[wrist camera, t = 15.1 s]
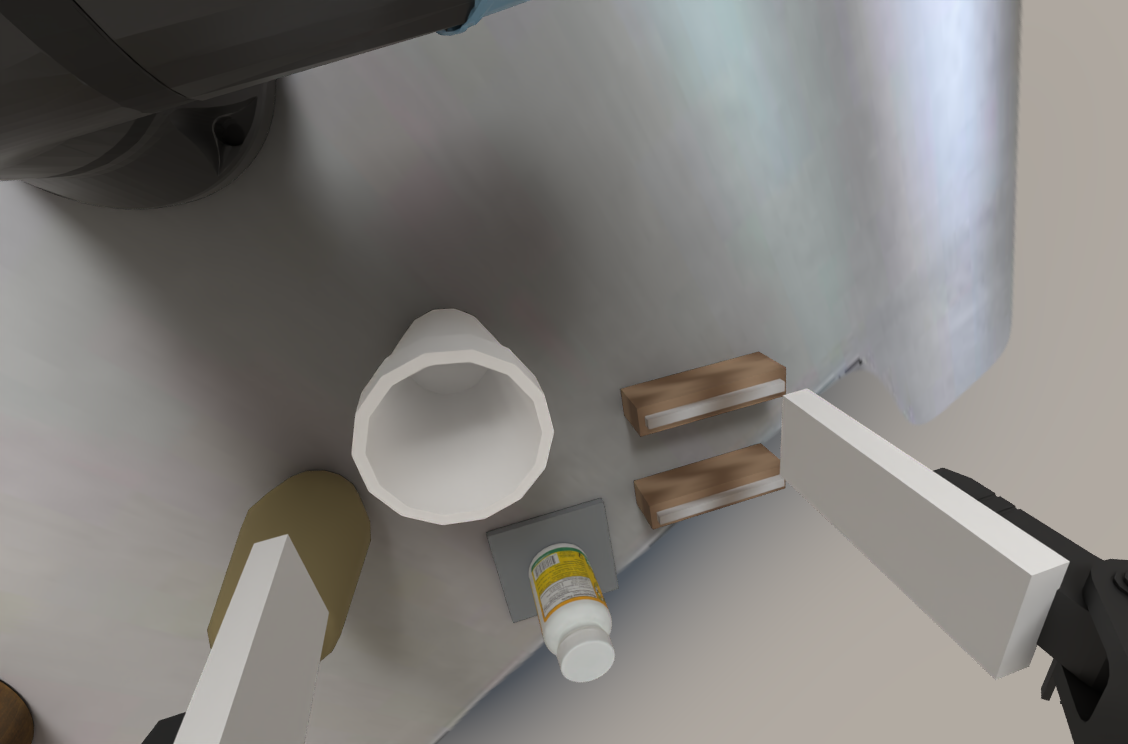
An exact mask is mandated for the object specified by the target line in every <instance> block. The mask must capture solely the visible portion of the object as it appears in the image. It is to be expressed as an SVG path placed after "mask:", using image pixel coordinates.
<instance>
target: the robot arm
mask: <svg viewBox="0 0 1128 744" xmlns="http://www.w3.org/2000/svg"><path fill="white" fill-rule="evenodd" d="M527 1H530V0H0V181H9V180H21V181H23V182H26V183H29V184H31V185H33V186H36V187H38V188H40V189H42V190H45V191H47V192H50V193H52V194H55V195H58V196H61V197H64V198H67V199H70V200H73V201H77V202H81V203H85V204H90V205H95V206H101V207H109V208H117V209H152V208H160V207H167V206H173V205H178V204H183V203H187V202H191V201H194V200H198V199H201V198H203V197H206V196H208V195H211V194H213V193H214V192H216V191H218V190H220V189H222V188H223V187H225V186H227V185H228V184H229V183H231V182H232V181H233V180H235V179H236V178H237V177H238V176H239V175H240V174H241V173H243V171H244V170H245V169H246V168H247V167H248V166H249V165H250V164H251V162H252V161H253V160H254V158H255V157H256V155H257V154H258V152H259V150H260V149H261V147H262V145H263V143H264V141H265V139H266V136H267V134H268V131H269V128H270V124H271V121H272V117H273V112H274V105H275V93H276V80H275V79H278V78H281V77H284V76H288V75H291V74H295V73H298V72H301V71H305V70H308V69H311V68H315V67H318V66H322V65H325V64H328V63H332V62H335V61H339V60H342V59H345V58H349V57H352V56H355V55H359V54H362V53H366V52H369V51H372V50H376V49H379V48H383V47H386V46H389V45H393V44H396V43H399V42H403V41H406V40H410V39H413V38H416V37H420V36H423V35H426V34H430V33H433V32H436V33H438V34H440V35H448V36H451V35H455V34H460V33H462V32H464V31H466V30H467V28H469V27H471V26H473V25H476V24H477V23H478V22H479V21H480V20H481V18H482V17H485V16H487V15H490V14H493V13H496V12H499V11H502V10H504V9H507V8H510V7H513V6H516V5H519V4H521V3H524V2H527ZM780 476H781V477H782V478H784V479H785V480H786V481H787V482H788V483H789V484H790V485H791V486H792V487H793V488H794V489H795V490H796V491H797V492H798V493H800V495H802V497H804V498H805V499H806V500H807V501H808V502H809V503H810V504H811V505H812V506H813V507H814V508H815V509H816V510H817V511H819V513H820V514H821V515H822V516H824V517H825V518H826V519H827V520H828V521H829V522H830V523H831V524H832V525H833V526H834V527H835V528H836V529H837V530H838V531H839V532H840V533H841V534H843V535H844V536H845V537H846V538H847V539H848V540H849V541H850V542H851V543H852V544H853V545H854V546H855V547H856V548H857V549H858V550H859V551H860V552H861V553H862V554H864V555H865V556H866V557H867V558H868V559H869V560H870V561H871V562H872V563H873V564H874V565H875V566H876V567H877V568H878V569H879V570H880V571H881V572H883V573H884V574H885V575H886V576H887V577H888V578H889V579H890V580H891V581H892V582H893V583H894V584H895V585H896V586H897V587H898V588H899V589H900V590H901V591H903V592H904V593H905V594H906V595H907V596H908V597H909V598H910V599H911V600H912V601H913V602H914V603H915V604H916V605H917V606H918V607H919V608H920V609H921V610H922V611H923V612H925V613H926V614H927V615H928V616H929V617H930V618H931V619H932V620H933V621H934V622H935V623H936V624H937V625H938V626H939V627H940V628H941V629H942V630H943V631H945V632H946V633H947V634H948V635H949V636H950V637H951V638H952V639H953V640H954V641H955V642H956V643H957V644H958V645H959V646H961V648H962V649H963V650H964V651H966V652H967V653H968V654H969V655H970V656H971V657H972V658H973V659H974V660H975V661H976V662H977V663H978V664H979V665H980V666H981V667H982V668H983V669H984V670H986V671H987V672H988V673H989V674H990V675H991V676H992V677H993V678H994V679H995V680H996V679H999V678H1001V677H1004V676H1006V675H1009V674H1011V673H1014V672H1016V671H1019V670H1021V669H1024V668H1026V667H1029V665H1030V663H1031V660H1032V657H1033V655H1034V652H1035V650H1036V647H1037V645H1038V646H1040V647H1041V648H1042V649H1043V650H1044V651H1046V652H1047V653H1048V654H1049V655H1050V656H1052V657H1053V658H1054V659H1053V661H1052V664H1051V666H1050V668H1049V671H1048V673H1047V676H1046V678H1045V680H1044V683H1043V685H1042V687H1041V698H1042V699H1044V700H1048V701H1049V700H1050V698H1051V695H1052V693H1053V691H1054V689H1055V686H1056V687H1057V691H1058V693H1059V697H1060V700H1061V701H1060V704H1062V706H1063V709H1064V713H1065V716H1066V719H1067V722H1068V725H1069V729H1070V731H1071V734H1072V738H1073V741H1074V744H1128V560H1117V559H1109V560H1105V561H1104V560H1102V559H1100V558H1098V557H1096V556H1095V555H1093V554H1091V553H1090V552H1088V551H1087V550H1085V549H1083V548H1082V547H1080V546H1079V545H1077V544H1075V543H1074V542H1072V541H1071V540H1069V539H1067V538H1066V537H1064V536H1063V535H1061V534H1059V533H1058V532H1056V531H1054V530H1053V529H1051V528H1050V527H1048V526H1047V525H1045V524H1043V523H1042V522H1040V521H1039V520H1037V519H1035V518H1034V517H1032V516H1031V515H1029V514H1027V513H1026V512H1024V511H1022V510H1021V509H1016V508H1015V506H1014V505H1013V504H1012V503H1010V502H1008V501H1007V500H1005V499H1003V498H1002V497H997V496H996V495H995V493H994V492H992V491H991V490H989V489H988V488H986V487H984V486H983V485H981V484H980V483H978V482H976V481H975V480H973V479H972V478H969V477H966V476H964V475H961V474H959V473H956V472H953V471H951V470H948V469H945V468H940V469H937V470H934V471H932V470H930V469H929V468H927V467H926V466H924V465H923V464H921V463H920V462H918V461H917V460H915V459H913V458H912V457H910V456H909V455H907V454H906V453H904V452H903V451H901V450H900V449H898V448H897V447H895V446H894V445H892V444H891V443H889V442H887V441H886V440H885V439H883V438H882V437H880V436H879V435H877V434H876V433H874V432H873V431H871V430H870V429H868V428H867V427H865V426H864V425H862V424H861V423H859V422H858V421H856V420H854V419H853V418H851V417H850V416H848V415H847V414H845V413H844V412H842V411H841V410H839V409H838V408H836V407H835V406H833V405H832V404H830V403H829V402H827V401H826V400H824V399H823V398H821V397H820V396H818V395H817V394H815V393H814V392H812V391H811V390H809V389H804V390H800V391H797V392H793V393H790V394H786V395H783V405H782V430H781V455H780ZM328 615H329V612H328V610H327V608H326V606H325V604H324V602H323V600H322V598H321V596H320V595H319V593H318V591H317V589H316V587H315V585H314V583H313V581H312V579H311V577H310V575H309V573H308V572H307V570H306V568H305V566H304V564H303V562H302V560H301V558H300V556H299V554H298V552H297V550H296V549H295V547H294V545H293V543H292V541H291V539H290V537H289V535H288V534H286V535H282V536H279V537H275V538H272V539H268V540H265V541H261V542H257V543H254V545H253V547H252V550H251V552H250V555H249V557H248V560H247V562H246V565H245V567H244V569H243V572H242V574H241V577H240V579H239V582H238V584H237V587H236V589H235V592H234V594H233V597H232V599H231V602H230V604H229V607H228V609H227V612H226V614H225V617H224V619H223V622H222V624H221V627H220V629H219V632H218V634H217V637H216V639H215V642H214V644H213V647H212V649H211V652H210V654H209V657H208V659H207V661H206V664H205V666H204V669H203V671H202V674H201V676H200V679H199V681H198V684H197V686H196V689H195V691H194V694H193V696H192V699H191V701H190V704H189V706H188V709H187V711H186V712H185V713H181V714H178V715H175V716H172V717H169V718H166V719H163V720H160V721H159V722H158V723H157V724H156V725H155V727H154V728H153V729H152V731H151V732H150V733H149V735H148V736H147V737H146V738H145V740H144V741H143V742H142V744H304V743H305V738H306V732H307V727H308V722H309V716H310V711H311V706H312V700H313V695H314V690H315V684H316V679H317V674H318V668H319V663H320V658H321V652H322V647H323V642H324V636H325V631H326V626H327V621H328Z"/></svg>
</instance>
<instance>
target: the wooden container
mask: <svg viewBox="0 0 1128 744" xmlns="http://www.w3.org/2000/svg"><path fill="white" fill-rule="evenodd" d="M33 734H34V724H33V720H32V716H31V714H30V711H29V709H28V708H27V706H26V705H25V703H24V702H23V700H22V699H21V698H20V697H19V696H18V695H17V694H16V693H15V692H14V691H13V690H12V689H11V688H9V687H8V686H7V685H5V684H4V683H2V682H1V681H0V744H31V743H32V739H33Z"/></svg>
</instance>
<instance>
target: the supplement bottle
mask: <svg viewBox="0 0 1128 744" xmlns="http://www.w3.org/2000/svg"><path fill="white" fill-rule="evenodd" d="M529 580H530V585H531V588H532V593H533V597H534V601H535V605H536V609H537V613H538V618H539V622H540V626H541V631H542V635H543V639H544V642H545V644H546V646H547V648H548V649H549V650H550V651H551V652H552V653H553V654H554V655H556V656H557V659H558V662H559V665H560V669H561V672H562V674H563V675H564V677H565V678H567V679H568V680H570V681H574V682H588V681H591V680H594V679H597V678H599V677H601V676H602V675H604V674H605V673H606V672H607V671H608V670H609V669H610V667H611V666H612V664H613V662H614V659H615V651H614V648H613V645H612V642H611V639H610V637H609V635H610V632H611V628H612V619H611V615H610V612H609V610H608V607H607V605H606V602H605V600H604V597H603V595H602V592H601V590H600V587H599V585H598V582H597V580H596V577H595V575H594V572H593V570H592V567H591V565H590V562H589V560H588V558H587V556H586V554H585V553H584V552H583V550H582V549H581V548H579V547H577V546H576V545H574V544H569V543H558V544H554V545H551V546H548V547H546V548H544V549H543V550H541V551H540V552H539V553H538V554H537V555H536V556H535V557H534V559H533V560H532V562H531V564H530V567H529Z"/></svg>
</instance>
